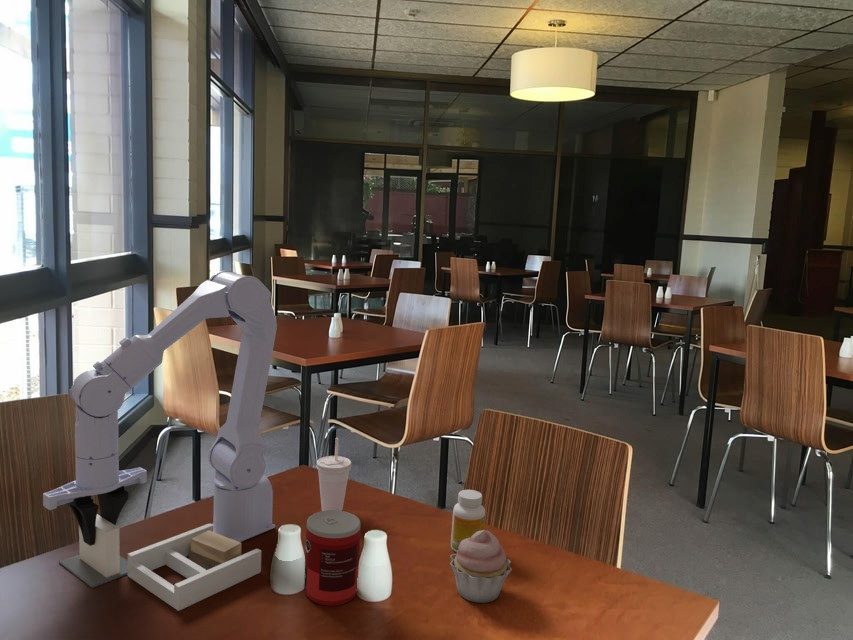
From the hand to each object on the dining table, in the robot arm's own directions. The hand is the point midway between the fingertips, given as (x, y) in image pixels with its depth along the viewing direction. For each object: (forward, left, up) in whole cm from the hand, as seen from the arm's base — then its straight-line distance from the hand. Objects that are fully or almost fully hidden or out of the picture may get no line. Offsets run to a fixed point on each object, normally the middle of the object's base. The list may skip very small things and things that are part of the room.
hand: (98, 539), depth 102 cm
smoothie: (-38, +11, -4) cm, 40 cm away
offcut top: (-12, +12, -2) cm, 17 cm away
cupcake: (-34, +46, -4) cm, 57 cm away
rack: (-9, +12, -4) cm, 15 cm away
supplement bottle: (-44, +37, -4) cm, 58 cm away
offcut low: (-12, +12, -5) cm, 18 cm away
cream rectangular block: (0, 0, -4) cm, 4 cm away
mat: (0, 0, -4) cm, 4 cm away
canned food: (-19, +30, -4) cm, 36 cm away
